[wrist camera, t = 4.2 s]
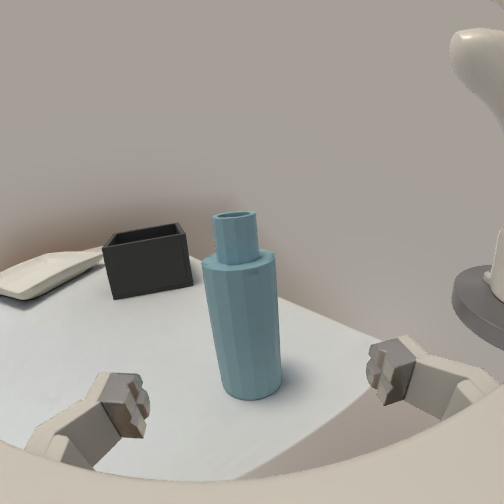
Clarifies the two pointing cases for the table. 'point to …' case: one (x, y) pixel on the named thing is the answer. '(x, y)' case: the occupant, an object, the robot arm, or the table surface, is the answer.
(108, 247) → the bin
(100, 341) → the table surface
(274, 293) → the bottle
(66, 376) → the table surface
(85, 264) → the square plate
